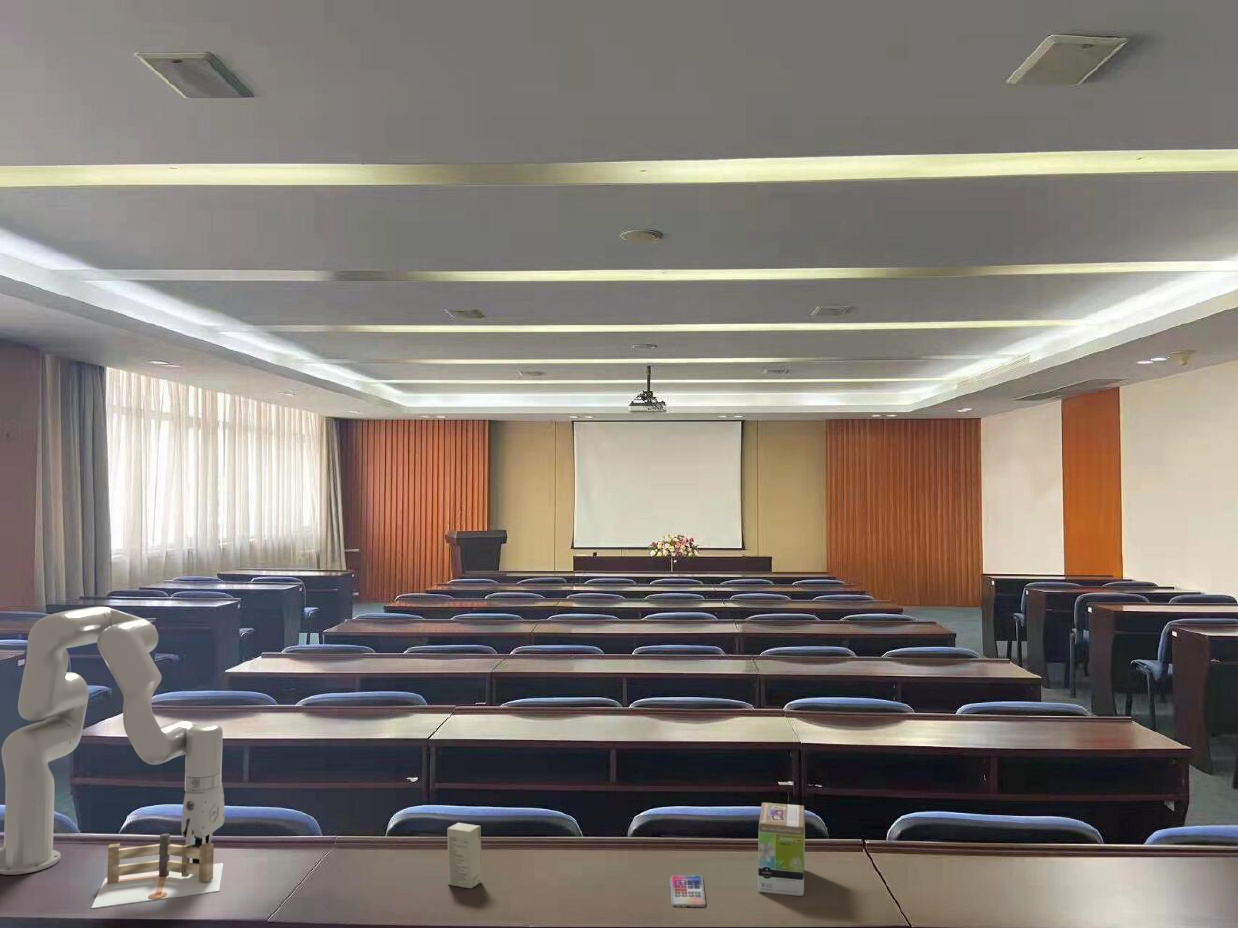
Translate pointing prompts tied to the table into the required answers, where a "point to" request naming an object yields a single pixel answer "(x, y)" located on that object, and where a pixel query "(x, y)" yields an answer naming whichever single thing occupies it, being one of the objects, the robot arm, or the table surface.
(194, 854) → the fence gate
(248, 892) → the table surface
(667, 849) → the table surface
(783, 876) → the tea box
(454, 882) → the skincare box
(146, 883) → the card
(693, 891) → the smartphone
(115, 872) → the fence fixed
